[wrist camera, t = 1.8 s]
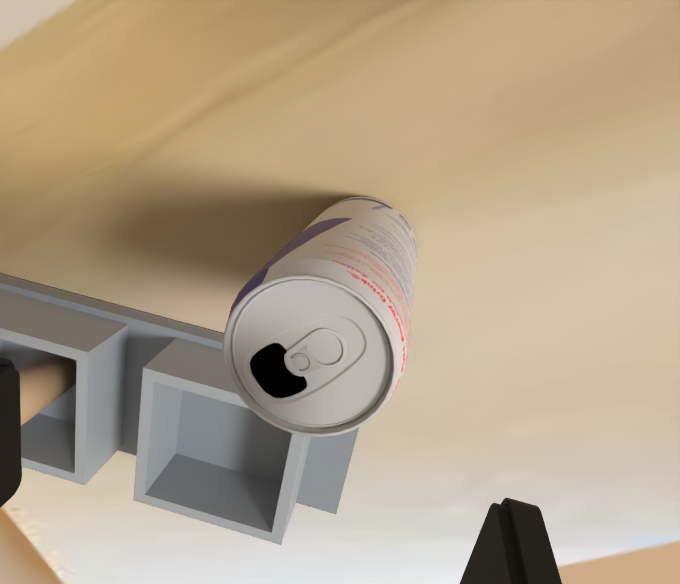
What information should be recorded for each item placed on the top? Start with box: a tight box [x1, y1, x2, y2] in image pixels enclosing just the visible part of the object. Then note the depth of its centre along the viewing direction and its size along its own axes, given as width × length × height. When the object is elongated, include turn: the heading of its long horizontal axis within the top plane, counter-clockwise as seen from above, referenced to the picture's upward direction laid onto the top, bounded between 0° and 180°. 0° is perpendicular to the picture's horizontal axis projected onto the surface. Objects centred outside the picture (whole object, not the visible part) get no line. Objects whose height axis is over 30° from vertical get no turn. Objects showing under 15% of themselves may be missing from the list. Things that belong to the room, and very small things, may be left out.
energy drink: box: [223, 197, 417, 437], centre depth 20 cm, size 5×5×12 cm
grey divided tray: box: [0, 274, 359, 545], centre depth 27 cm, size 24×9×6 cm, turn 78°
